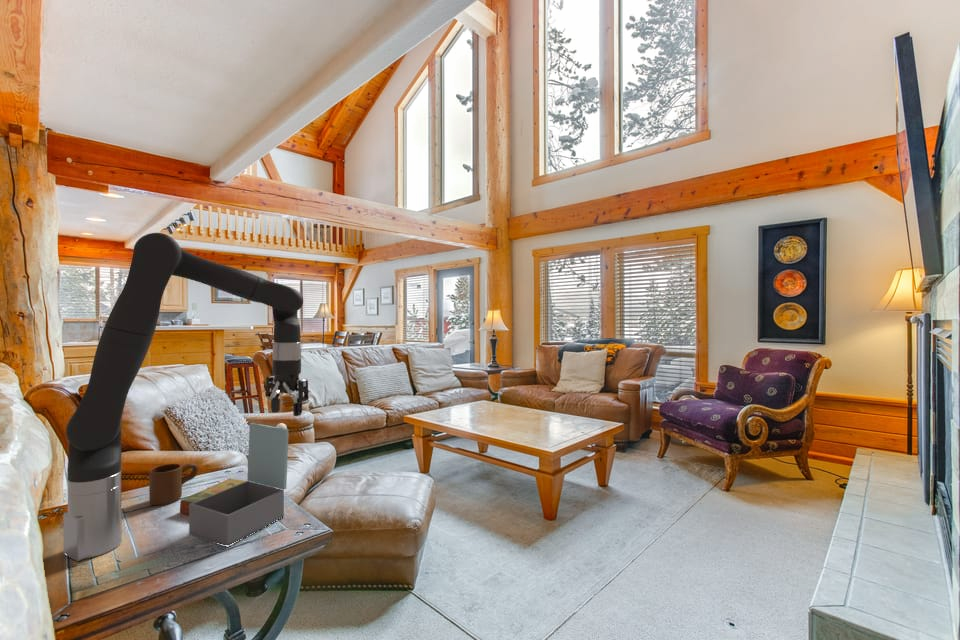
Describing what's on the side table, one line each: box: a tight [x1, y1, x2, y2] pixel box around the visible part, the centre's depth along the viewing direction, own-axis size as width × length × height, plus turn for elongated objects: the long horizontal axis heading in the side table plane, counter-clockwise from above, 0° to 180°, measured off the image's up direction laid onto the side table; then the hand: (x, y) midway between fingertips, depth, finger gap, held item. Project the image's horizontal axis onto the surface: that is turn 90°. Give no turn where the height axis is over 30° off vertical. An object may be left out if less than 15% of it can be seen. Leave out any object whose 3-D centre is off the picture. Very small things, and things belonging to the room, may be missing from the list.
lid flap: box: [246, 422, 290, 490], centre depth 120 cm, size 16×14×6 cm
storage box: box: [188, 480, 285, 545], centre depth 110 cm, size 16×14×8 cm
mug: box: [148, 462, 199, 506], centre depth 126 cm, size 12×8×9 cm, turn 139°
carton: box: [179, 477, 247, 517], centre depth 123 cm, size 8×16×4 cm, turn 163°
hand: (286, 413), depth 123 cm, fingers open, 8 cm apart
